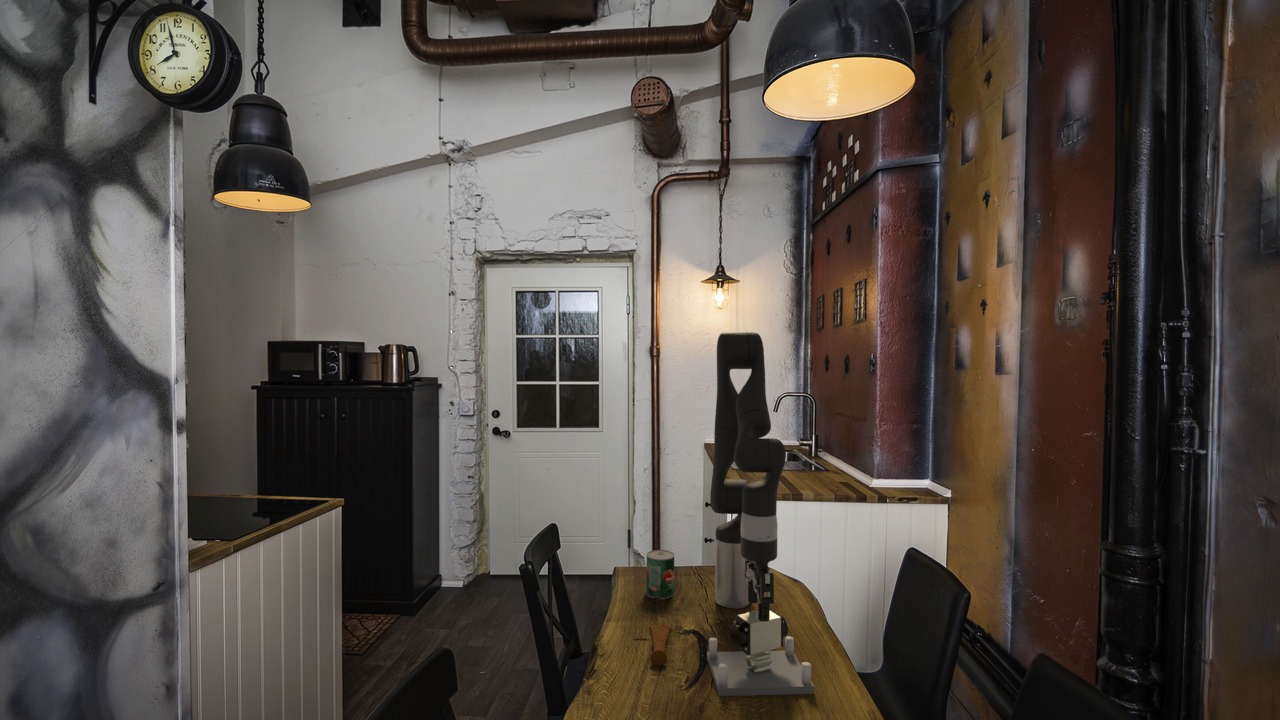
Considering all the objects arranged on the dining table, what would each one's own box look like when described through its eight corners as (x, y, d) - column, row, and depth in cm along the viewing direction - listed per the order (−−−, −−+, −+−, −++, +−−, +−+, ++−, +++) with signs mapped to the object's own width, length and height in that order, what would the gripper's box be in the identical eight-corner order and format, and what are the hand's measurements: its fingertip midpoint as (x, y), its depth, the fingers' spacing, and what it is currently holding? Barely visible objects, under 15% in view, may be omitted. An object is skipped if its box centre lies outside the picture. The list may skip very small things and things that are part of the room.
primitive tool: (649, 626, 142) (649, 612, 142) (671, 627, 142) (671, 613, 142) (649, 668, 123) (650, 652, 123) (675, 669, 123) (675, 652, 123)
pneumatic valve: (788, 668, 120) (788, 610, 120) (741, 680, 115) (742, 620, 115) (772, 655, 125) (772, 600, 125) (726, 667, 120) (726, 609, 120)
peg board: (718, 696, 112) (719, 670, 112) (706, 658, 126) (706, 636, 126) (814, 693, 113) (814, 668, 113) (791, 657, 127) (792, 634, 127)
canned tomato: (674, 599, 158) (675, 559, 158) (646, 599, 158) (646, 559, 158) (673, 588, 165) (673, 550, 165) (646, 587, 166) (646, 549, 166)
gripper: (787, 545, 113) (786, 627, 113) (767, 523, 127) (766, 596, 127) (749, 545, 112) (748, 628, 113) (733, 524, 127) (733, 597, 127)
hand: (758, 611), depth 120 cm, fingers open, 8 cm apart
